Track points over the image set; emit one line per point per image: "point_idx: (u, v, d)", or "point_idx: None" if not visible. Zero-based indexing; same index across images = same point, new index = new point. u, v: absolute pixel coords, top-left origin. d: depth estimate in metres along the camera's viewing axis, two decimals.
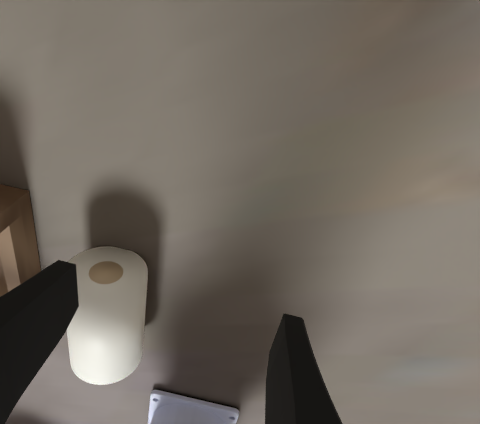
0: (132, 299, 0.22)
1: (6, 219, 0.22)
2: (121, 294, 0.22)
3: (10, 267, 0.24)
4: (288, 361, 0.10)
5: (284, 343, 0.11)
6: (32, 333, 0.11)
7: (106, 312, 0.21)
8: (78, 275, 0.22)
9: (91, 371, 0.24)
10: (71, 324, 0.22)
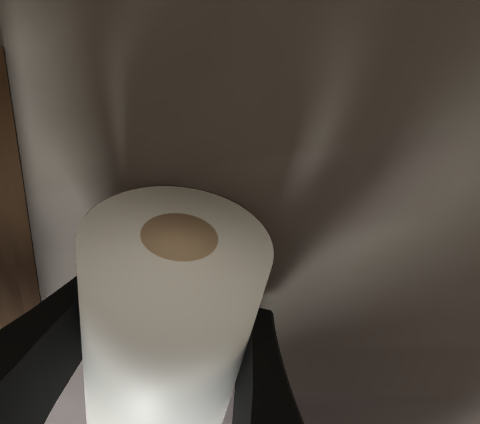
0: (253, 300, 0.09)
1: None
2: (229, 286, 0.08)
3: None
4: (251, 352, 0.10)
5: (250, 335, 0.11)
6: (67, 341, 0.11)
7: (193, 333, 0.08)
8: (117, 238, 0.09)
9: None
10: (98, 360, 0.09)
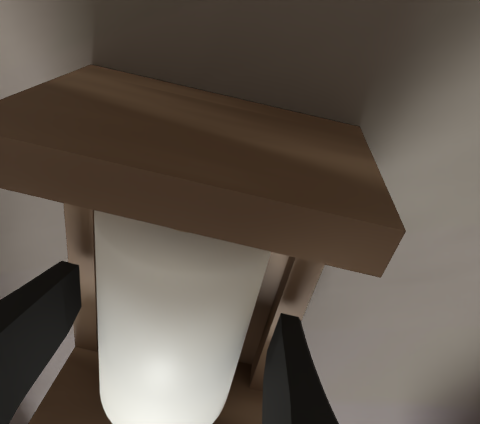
0: (256, 270, 0.09)
1: None
2: (234, 255, 0.09)
3: (306, 274, 0.13)
4: (284, 360, 0.10)
5: (281, 342, 0.11)
6: (35, 334, 0.11)
7: (201, 296, 0.09)
8: None
9: (145, 421, 0.12)
10: (113, 324, 0.10)
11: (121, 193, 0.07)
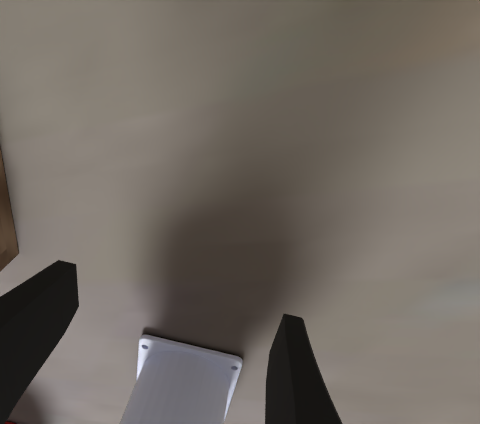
0: None
1: None
2: None
3: None
4: (288, 361, 0.10)
5: (284, 343, 0.11)
6: (32, 333, 0.11)
7: None
8: None
9: None
10: None
11: None
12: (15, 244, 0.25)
